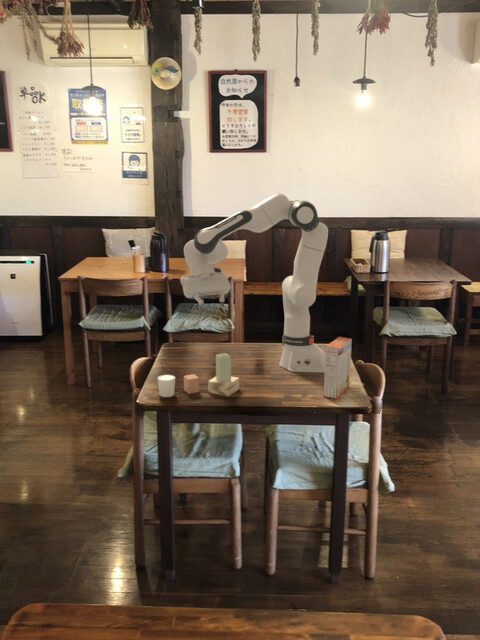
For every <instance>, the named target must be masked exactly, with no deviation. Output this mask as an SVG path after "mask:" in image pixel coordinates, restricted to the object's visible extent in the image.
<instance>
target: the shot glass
mask: <svg viewBox="0 0 480 640" xmlns="http://www.w3.org/2000/svg"><path fill="white" fill-rule="evenodd" d="M157 385H158V395H159V397H162V398H171V397H173V396H175V387H176V376H175V375H173V374H161V375H158V376H157Z"/></svg>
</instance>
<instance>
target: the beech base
mask: <svg viewBox="0 0 480 640" xmlns="http://www.w3.org/2000/svg"><path fill="white" fill-rule="evenodd" d="M238 390H240V377H237V376H232V375H231V381H227V382H221V383H220V382H219V381H218V380H217V379H216V375H215V376H214V377H213V378H211V379H209V380H208V382H207V393H208V394H209V393H210V394H215V395H218V396H219V395H220V396H224V397H230V396H232V395H233V394H234V393H236V392H237V391H238Z"/></svg>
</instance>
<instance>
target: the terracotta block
mask: <svg viewBox="0 0 480 640" xmlns="http://www.w3.org/2000/svg"><path fill="white" fill-rule="evenodd" d="M183 391H184V392H186V393H187V395H190V394H195V393H196V394H197V393H200V377H199V376H197V374H195V373H192V374H187V375H184V376H183Z"/></svg>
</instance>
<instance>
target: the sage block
mask: <svg viewBox="0 0 480 640" xmlns="http://www.w3.org/2000/svg"><path fill="white" fill-rule="evenodd" d="M215 376H216V379H217V380H218V381H219V382H220V383H221V382H227V381H231V376H232V356H231V355H229V354H228V353H227V352H224V353H219V354H215Z"/></svg>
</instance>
